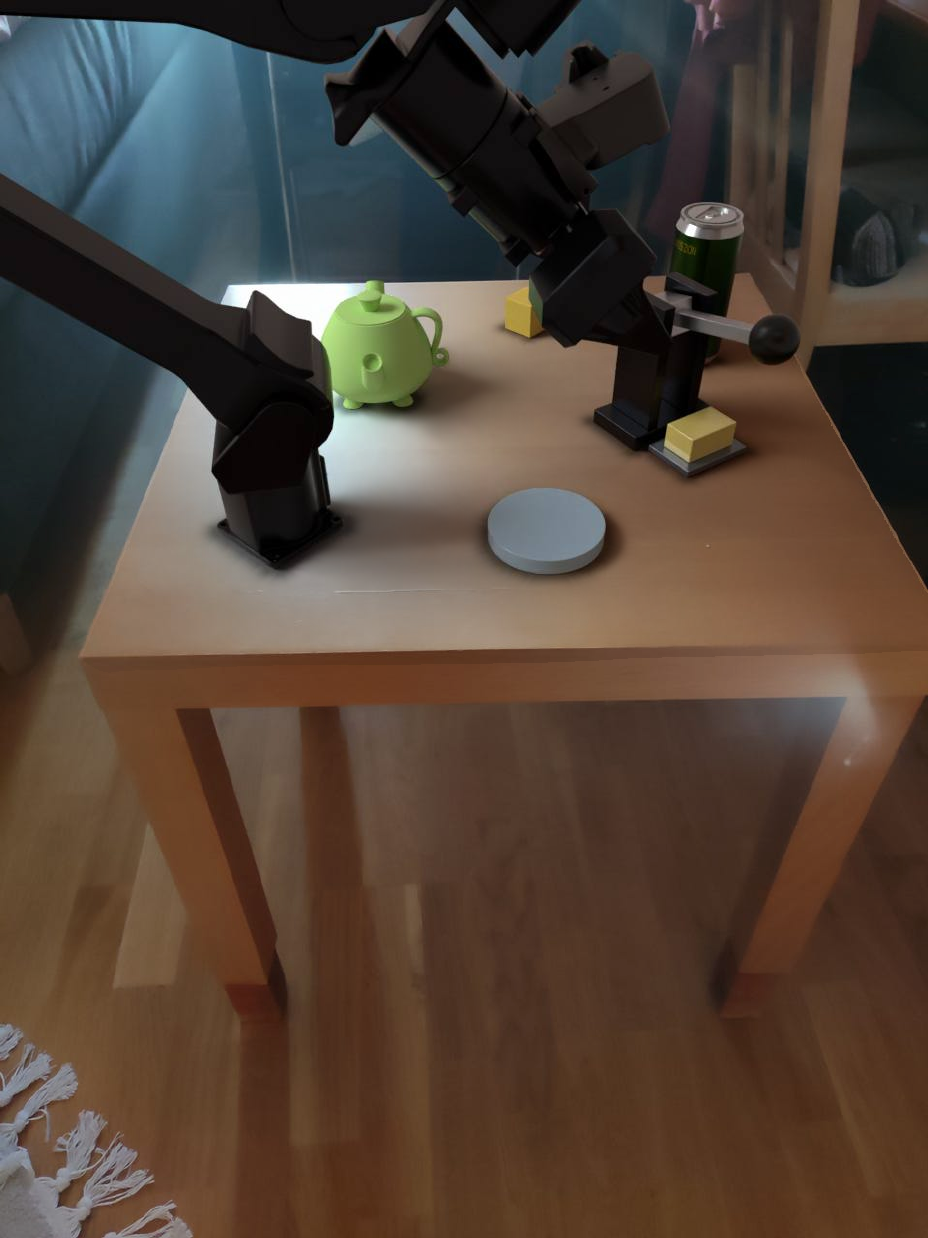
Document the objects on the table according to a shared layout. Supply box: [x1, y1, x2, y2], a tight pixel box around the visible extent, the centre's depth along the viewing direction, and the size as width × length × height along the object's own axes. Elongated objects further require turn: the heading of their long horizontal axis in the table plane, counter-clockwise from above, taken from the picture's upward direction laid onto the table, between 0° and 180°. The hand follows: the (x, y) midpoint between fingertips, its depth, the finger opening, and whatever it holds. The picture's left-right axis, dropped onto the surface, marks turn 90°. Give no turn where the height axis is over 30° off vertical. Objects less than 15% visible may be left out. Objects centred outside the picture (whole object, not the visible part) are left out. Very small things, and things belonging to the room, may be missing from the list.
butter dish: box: [648, 406, 748, 478], centre depth 67 cm, size 4×6×2 cm
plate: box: [487, 487, 607, 575], centre depth 61 cm, size 8×8×1 cm
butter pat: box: [504, 285, 546, 339], centre depth 82 cm, size 4×3×3 cm
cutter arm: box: [653, 290, 801, 366], centre depth 61 cm, size 13×3×3 cm, turn 33°
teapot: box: [320, 279, 451, 410], centre depth 72 cm, size 11×12×8 cm
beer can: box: [668, 201, 745, 365], centre depth 75 cm, size 5×5×12 cm
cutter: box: [592, 272, 718, 451], centre depth 68 cm, size 5×8×11 cm, turn 123°
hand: (644, 315), depth 55 cm, fingers open, 8 cm apart
